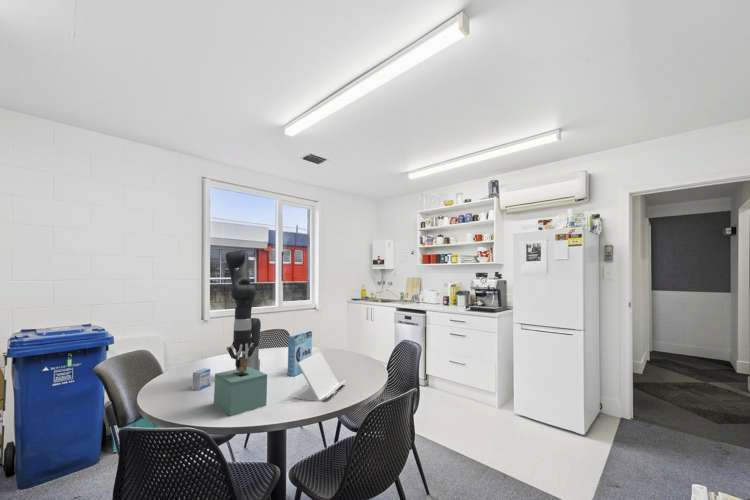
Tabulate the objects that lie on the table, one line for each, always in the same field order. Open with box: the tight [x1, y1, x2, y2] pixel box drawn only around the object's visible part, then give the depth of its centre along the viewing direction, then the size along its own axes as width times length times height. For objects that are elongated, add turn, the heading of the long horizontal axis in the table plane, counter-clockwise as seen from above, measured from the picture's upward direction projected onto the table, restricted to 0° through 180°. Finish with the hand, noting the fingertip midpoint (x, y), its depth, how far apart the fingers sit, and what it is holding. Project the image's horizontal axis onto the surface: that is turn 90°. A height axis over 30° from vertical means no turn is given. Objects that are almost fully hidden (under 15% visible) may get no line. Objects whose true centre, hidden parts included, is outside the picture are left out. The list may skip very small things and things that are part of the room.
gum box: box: [287, 330, 313, 377], centre depth 202 cm, size 20×5×23 cm, turn 160°
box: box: [213, 367, 268, 417], centre depth 150 cm, size 16×18×14 cm
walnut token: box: [235, 356, 247, 372], centre depth 151 cm, size 2×5×6 cm, turn 46°
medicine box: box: [191, 368, 211, 391], centre depth 173 cm, size 8×4×9 cm, turn 168°
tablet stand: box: [292, 351, 346, 402], centre depth 168 cm, size 18×25×17 cm
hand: (241, 367), depth 151 cm, fingers closed on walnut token, 2 cm apart
